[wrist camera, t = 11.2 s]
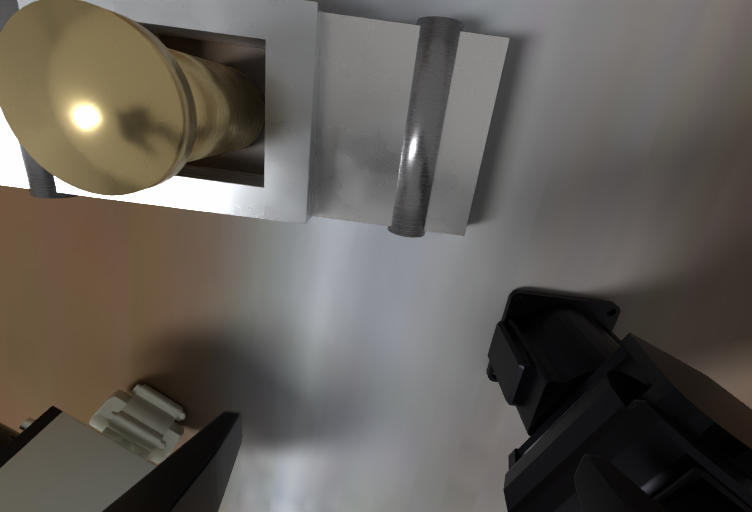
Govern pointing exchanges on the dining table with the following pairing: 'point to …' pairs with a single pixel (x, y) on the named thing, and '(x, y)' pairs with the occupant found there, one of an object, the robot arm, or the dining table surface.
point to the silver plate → (327, 116)
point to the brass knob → (116, 99)
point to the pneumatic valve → (86, 453)
